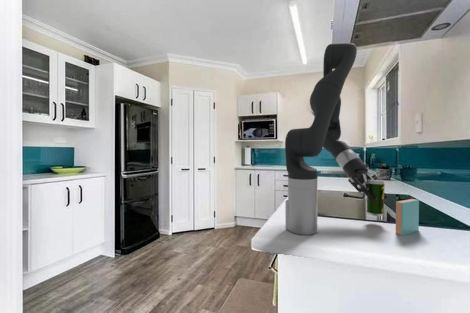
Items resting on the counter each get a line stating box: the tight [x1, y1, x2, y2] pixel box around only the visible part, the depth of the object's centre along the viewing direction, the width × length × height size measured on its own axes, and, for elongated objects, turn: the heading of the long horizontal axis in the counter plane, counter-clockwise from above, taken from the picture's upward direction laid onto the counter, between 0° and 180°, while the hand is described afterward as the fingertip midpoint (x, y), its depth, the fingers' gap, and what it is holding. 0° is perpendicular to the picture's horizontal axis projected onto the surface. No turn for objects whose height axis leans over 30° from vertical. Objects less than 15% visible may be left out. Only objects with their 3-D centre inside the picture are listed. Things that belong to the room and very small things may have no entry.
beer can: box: [365, 179, 386, 217], centre depth 87 cm, size 5×5×12 cm
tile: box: [395, 198, 420, 236], centre depth 78 cm, size 2×9×10 cm, turn 117°
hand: (380, 199), depth 85 cm, fingers closed on beer can, 5 cm apart
